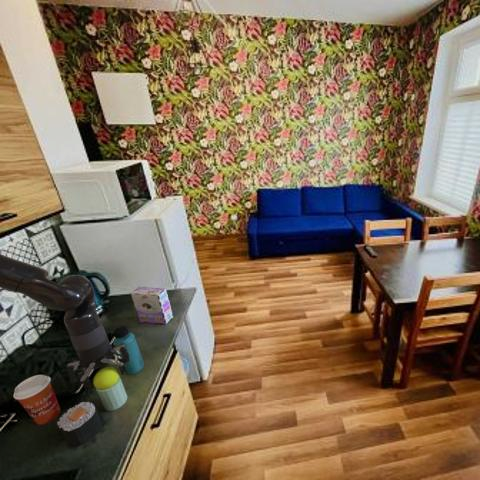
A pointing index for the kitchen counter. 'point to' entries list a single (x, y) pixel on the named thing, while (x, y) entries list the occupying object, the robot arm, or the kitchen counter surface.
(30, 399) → the paper cup
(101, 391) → the ceramic cup
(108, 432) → the kitchen counter surface
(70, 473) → the kitchen counter surface
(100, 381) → the ball
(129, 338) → the beverage bottle
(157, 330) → the kitchen counter surface
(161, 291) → the candy box
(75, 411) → the sushi
